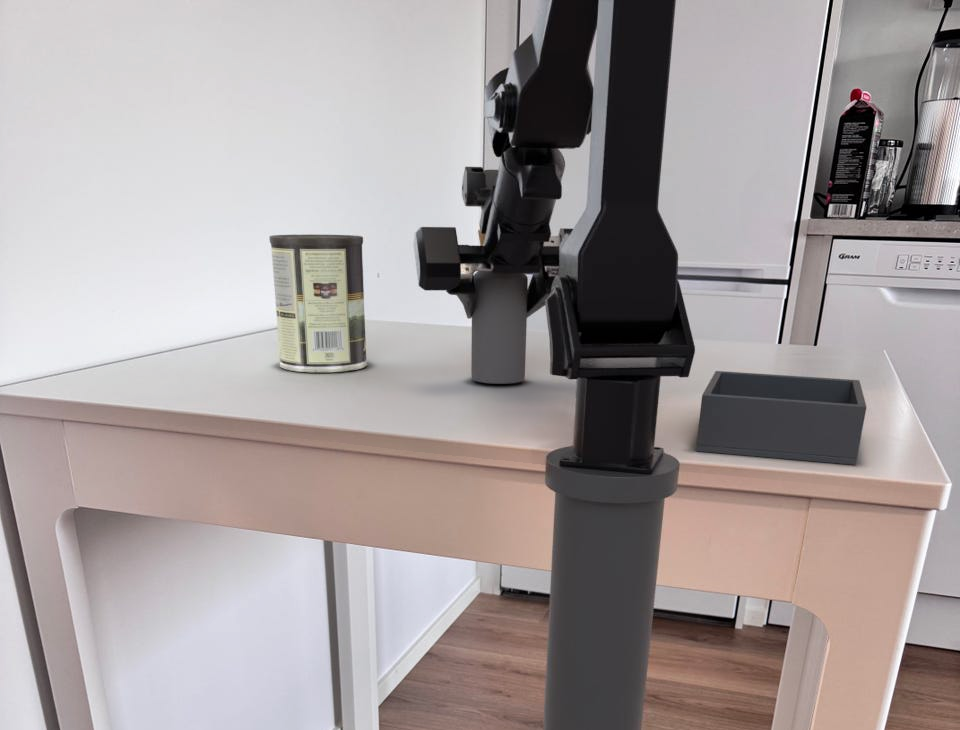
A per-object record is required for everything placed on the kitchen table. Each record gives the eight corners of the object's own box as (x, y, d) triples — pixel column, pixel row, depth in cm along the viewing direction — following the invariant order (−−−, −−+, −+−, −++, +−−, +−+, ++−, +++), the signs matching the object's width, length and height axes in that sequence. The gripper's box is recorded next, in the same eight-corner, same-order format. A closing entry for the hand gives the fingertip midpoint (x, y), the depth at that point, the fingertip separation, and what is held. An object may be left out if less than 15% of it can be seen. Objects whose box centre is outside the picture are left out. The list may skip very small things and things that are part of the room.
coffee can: (334, 356, 118) (328, 233, 112) (384, 367, 111) (381, 236, 105) (261, 364, 112) (251, 234, 106) (310, 376, 105) (302, 238, 99)
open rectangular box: (855, 465, 73) (866, 406, 71) (695, 451, 76) (702, 394, 74) (850, 431, 84) (859, 380, 82) (709, 420, 87) (715, 370, 85)
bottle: (481, 385, 100) (483, 230, 94) (464, 376, 105) (465, 229, 99) (532, 382, 102) (538, 230, 95) (513, 374, 107) (517, 229, 100)
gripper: (605, 138, 92) (568, 255, 106) (414, 132, 88) (403, 254, 103) (626, 228, 88) (584, 337, 102) (426, 226, 85) (413, 339, 99)
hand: (496, 314), depth 102 cm, fingers closed on bottle, 6 cm apart
